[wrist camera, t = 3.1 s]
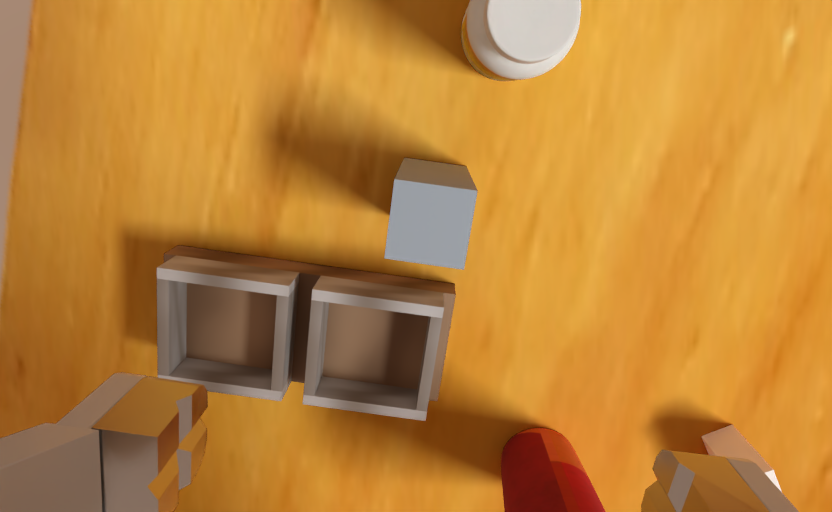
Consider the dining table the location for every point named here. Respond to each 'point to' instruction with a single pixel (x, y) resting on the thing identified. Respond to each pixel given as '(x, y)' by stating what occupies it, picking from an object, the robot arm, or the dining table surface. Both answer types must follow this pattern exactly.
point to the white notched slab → (736, 449)
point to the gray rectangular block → (431, 213)
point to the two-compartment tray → (302, 331)
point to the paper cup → (545, 475)
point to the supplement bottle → (518, 36)
